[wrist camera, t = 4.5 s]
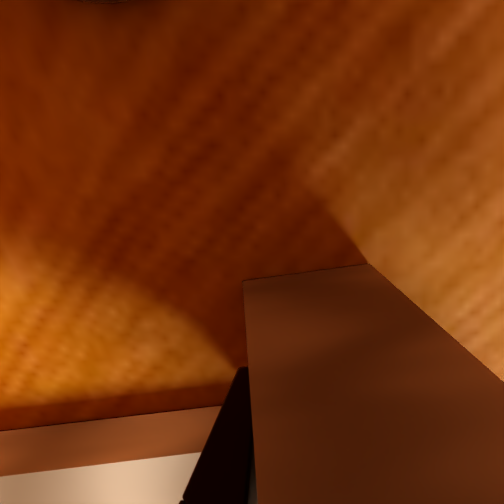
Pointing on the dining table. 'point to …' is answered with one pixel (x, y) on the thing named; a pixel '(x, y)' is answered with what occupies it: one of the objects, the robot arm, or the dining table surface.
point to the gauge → (366, 397)
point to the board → (105, 459)
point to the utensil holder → (104, 1)
